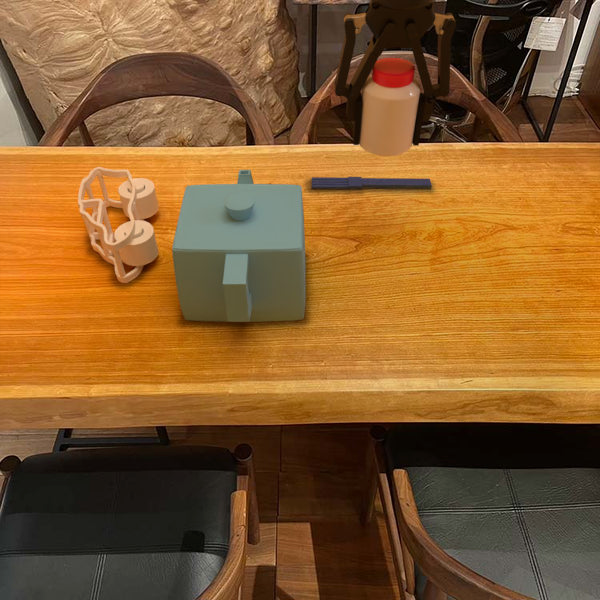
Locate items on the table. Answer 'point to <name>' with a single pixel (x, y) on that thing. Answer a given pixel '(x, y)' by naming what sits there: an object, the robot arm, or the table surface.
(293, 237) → the container
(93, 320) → the table surface
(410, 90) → the pill bottle
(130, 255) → the wheeled car silhouette
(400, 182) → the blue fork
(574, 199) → the table surface
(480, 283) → the table surface
